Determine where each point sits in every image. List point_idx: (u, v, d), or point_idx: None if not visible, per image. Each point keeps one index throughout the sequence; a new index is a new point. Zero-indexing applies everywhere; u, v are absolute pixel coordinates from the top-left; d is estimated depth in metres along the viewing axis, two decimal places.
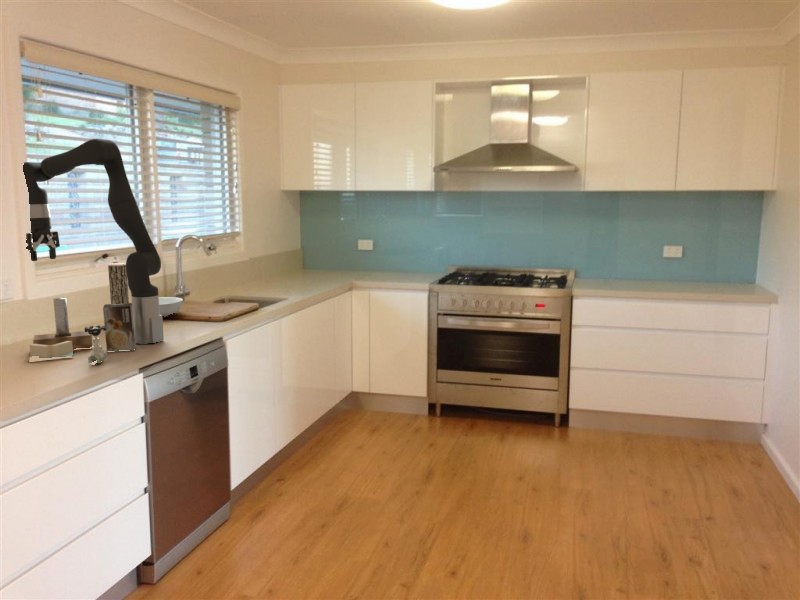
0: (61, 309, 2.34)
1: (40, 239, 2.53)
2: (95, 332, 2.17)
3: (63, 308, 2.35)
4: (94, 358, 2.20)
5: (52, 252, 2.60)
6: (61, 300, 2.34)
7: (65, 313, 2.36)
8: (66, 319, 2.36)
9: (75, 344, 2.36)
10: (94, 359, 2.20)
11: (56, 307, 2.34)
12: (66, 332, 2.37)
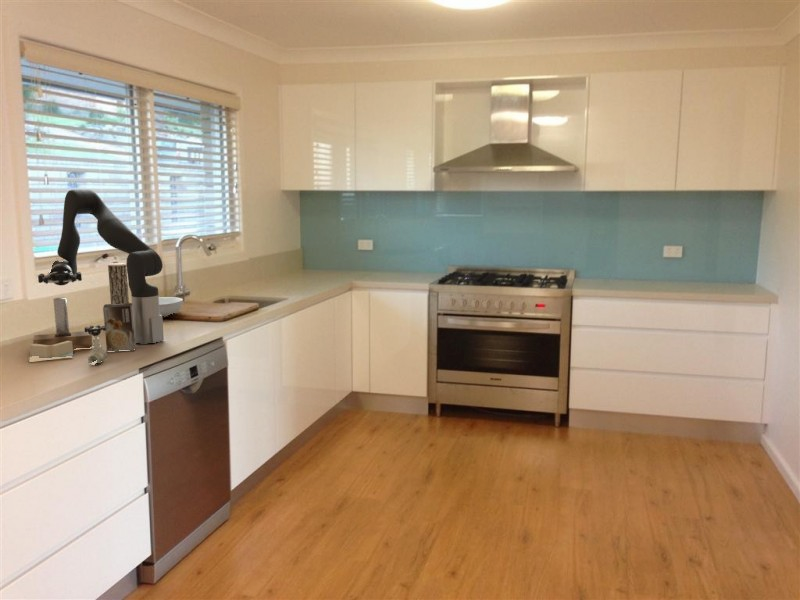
0: (61, 309, 2.34)
1: (53, 272, 2.50)
2: (95, 332, 2.17)
3: (63, 308, 2.35)
4: (94, 358, 2.20)
5: None
6: (61, 300, 2.34)
7: (65, 313, 2.36)
8: (66, 319, 2.36)
9: (75, 344, 2.36)
10: (94, 359, 2.20)
11: (56, 307, 2.34)
12: (66, 332, 2.37)
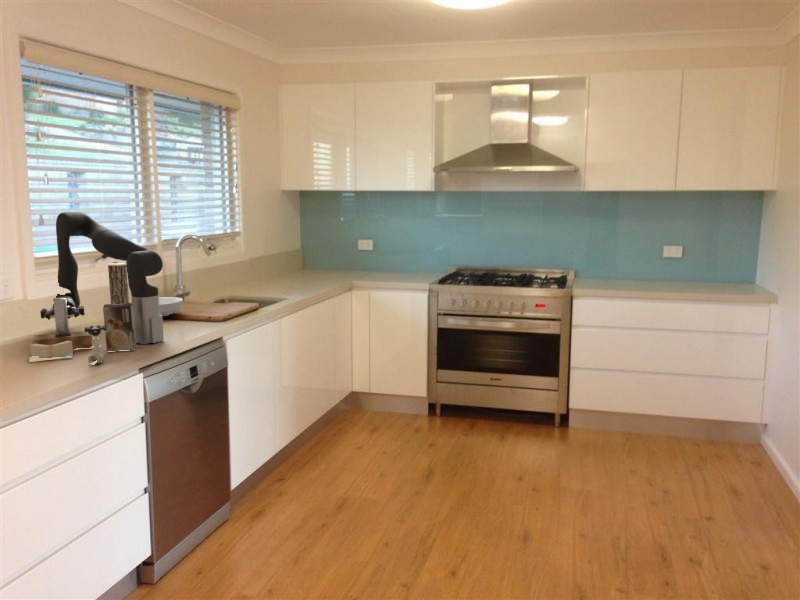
0: (61, 309, 2.34)
1: None
2: (95, 332, 2.17)
3: (63, 308, 2.35)
4: (94, 358, 2.20)
5: None
6: (61, 300, 2.34)
7: (65, 313, 2.36)
8: (66, 319, 2.36)
9: (75, 344, 2.36)
10: (94, 359, 2.20)
11: (56, 307, 2.34)
12: (66, 332, 2.37)
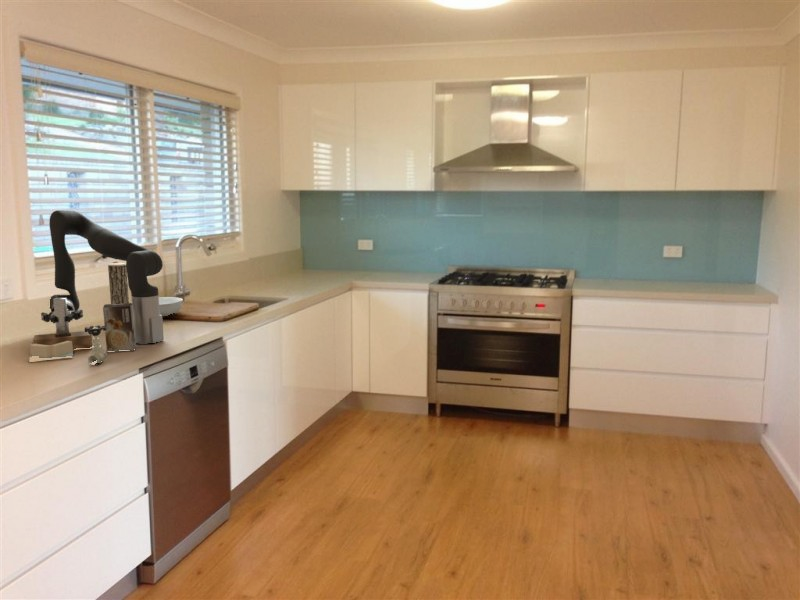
0: (61, 309, 2.34)
1: None
2: (95, 332, 2.17)
3: (63, 308, 2.35)
4: (94, 358, 2.20)
5: None
6: (61, 300, 2.34)
7: (65, 313, 2.36)
8: (66, 319, 2.36)
9: (75, 344, 2.36)
10: (94, 359, 2.20)
11: (56, 307, 2.34)
12: (66, 332, 2.37)
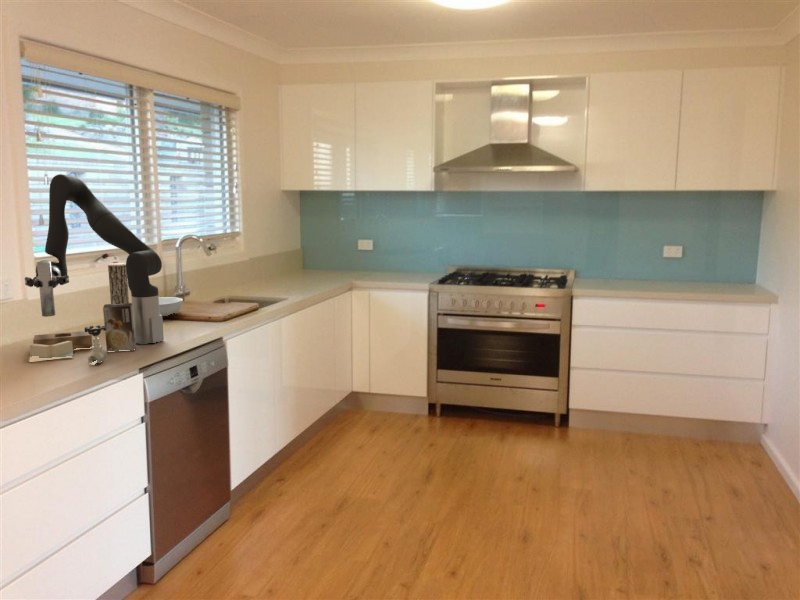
0: (45, 273, 2.24)
1: None
2: (95, 332, 2.17)
3: (47, 272, 2.24)
4: (94, 358, 2.20)
5: None
6: (45, 263, 2.23)
7: (49, 277, 2.25)
8: (50, 284, 2.25)
9: (75, 344, 2.36)
10: (94, 359, 2.20)
11: (40, 271, 2.23)
12: (50, 297, 2.26)
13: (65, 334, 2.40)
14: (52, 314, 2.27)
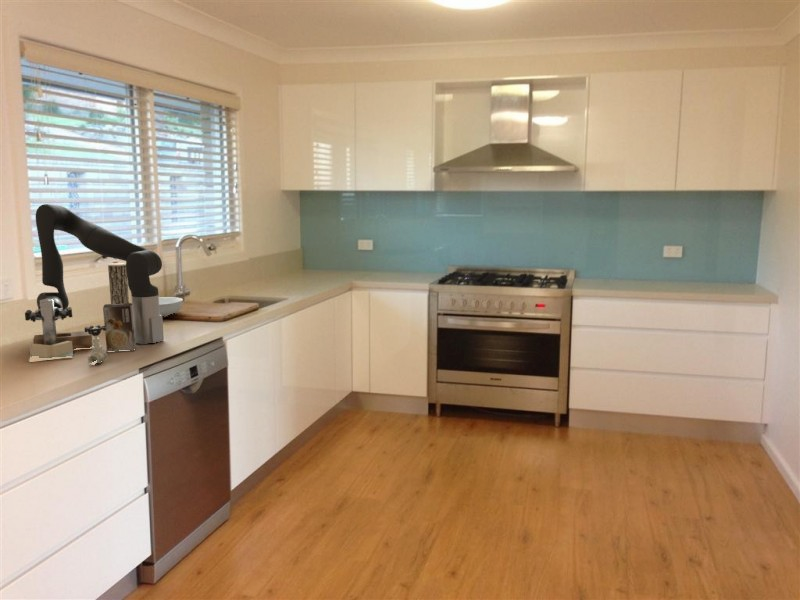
0: (48, 311, 2.25)
1: None
2: (95, 332, 2.17)
3: (50, 310, 2.26)
4: (94, 358, 2.20)
5: (61, 313, 2.29)
6: (48, 301, 2.25)
7: (52, 315, 2.27)
8: (53, 321, 2.27)
9: (75, 344, 2.36)
10: (94, 359, 2.20)
11: (43, 309, 2.25)
12: (53, 335, 2.27)
13: (65, 334, 2.40)
14: None
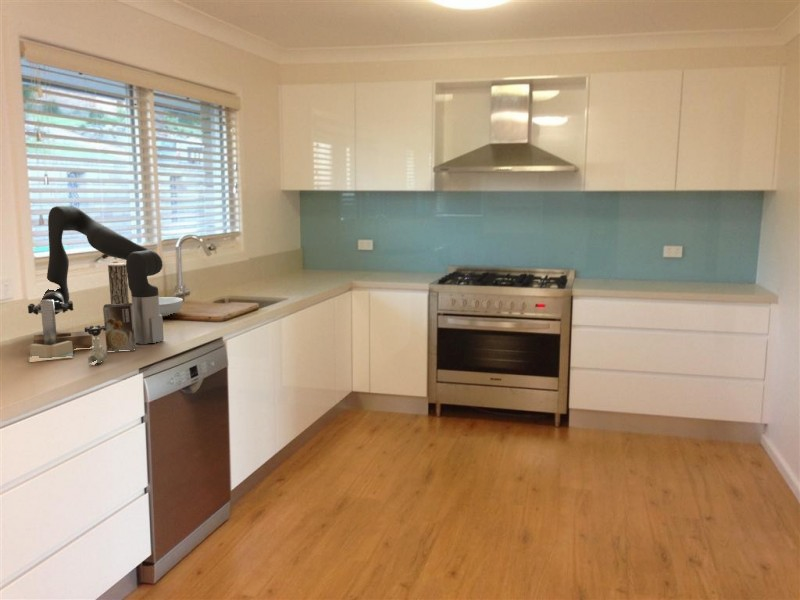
0: (48, 311, 2.25)
1: None
2: (95, 332, 2.17)
3: (51, 311, 2.25)
4: (94, 358, 2.20)
5: None
6: (48, 302, 2.25)
7: (52, 315, 2.26)
8: (53, 322, 2.27)
9: (75, 344, 2.36)
10: (94, 359, 2.20)
11: (43, 309, 2.25)
12: (53, 335, 2.27)
13: (65, 334, 2.40)
14: None
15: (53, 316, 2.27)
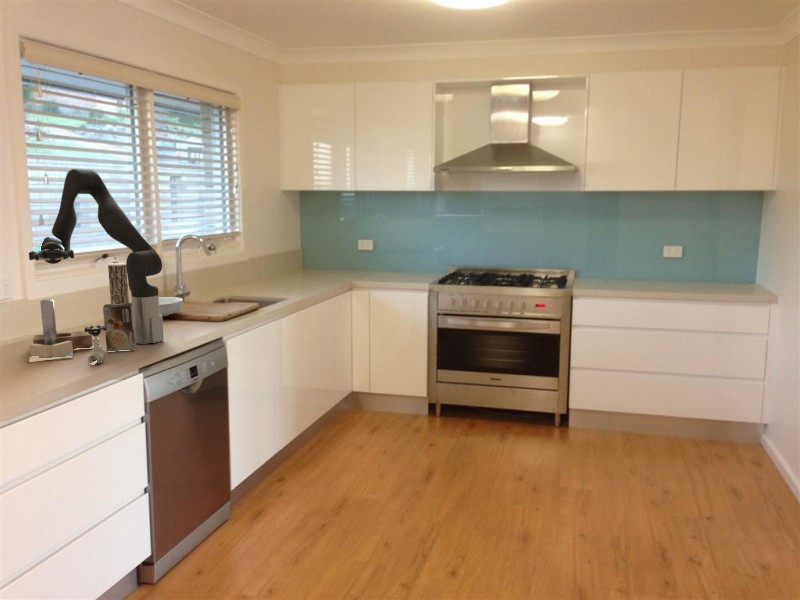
0: (48, 311, 2.25)
1: (44, 250, 2.43)
2: (95, 332, 2.17)
3: (51, 310, 2.26)
4: (94, 358, 2.20)
5: None
6: (48, 302, 2.25)
7: (52, 315, 2.26)
8: (53, 322, 2.27)
9: (75, 344, 2.36)
10: (94, 359, 2.20)
11: (43, 309, 2.25)
12: (53, 335, 2.27)
13: (65, 334, 2.40)
14: None
15: (53, 316, 2.27)
